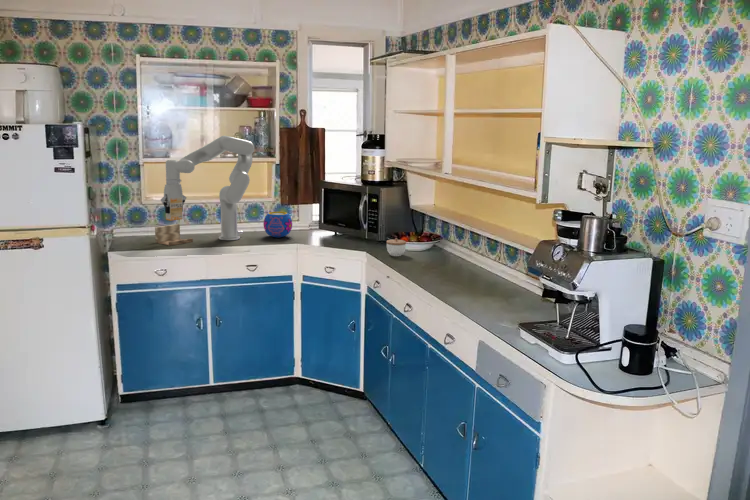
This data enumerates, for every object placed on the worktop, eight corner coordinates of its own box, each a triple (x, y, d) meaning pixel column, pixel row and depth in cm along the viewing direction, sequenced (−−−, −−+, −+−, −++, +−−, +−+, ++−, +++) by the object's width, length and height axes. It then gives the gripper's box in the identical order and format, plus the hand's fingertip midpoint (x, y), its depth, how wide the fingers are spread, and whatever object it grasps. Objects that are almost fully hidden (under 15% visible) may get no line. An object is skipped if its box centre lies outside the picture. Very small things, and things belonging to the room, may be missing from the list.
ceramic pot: (294, 234, 407) (294, 211, 404) (290, 240, 390) (290, 215, 387) (266, 233, 407) (266, 210, 404) (261, 239, 390) (260, 214, 387)
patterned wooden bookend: (178, 238, 384) (178, 223, 382) (192, 241, 377) (192, 226, 375) (155, 242, 372) (154, 227, 370) (169, 245, 364) (169, 230, 362)
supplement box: (170, 221, 366) (170, 198, 363) (165, 220, 369) (164, 197, 366) (183, 219, 373) (182, 196, 370) (177, 218, 375) (177, 196, 373)
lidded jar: (387, 257, 351) (387, 240, 349) (385, 252, 362) (385, 236, 360) (406, 257, 352) (407, 240, 350) (404, 253, 363) (404, 236, 361)
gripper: (181, 180, 375) (182, 210, 379) (155, 182, 362) (157, 213, 365) (189, 181, 371) (190, 211, 375) (164, 183, 357) (165, 214, 361)
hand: (174, 212), depth 370 cm, fingers closed on supplement box, 8 cm apart
